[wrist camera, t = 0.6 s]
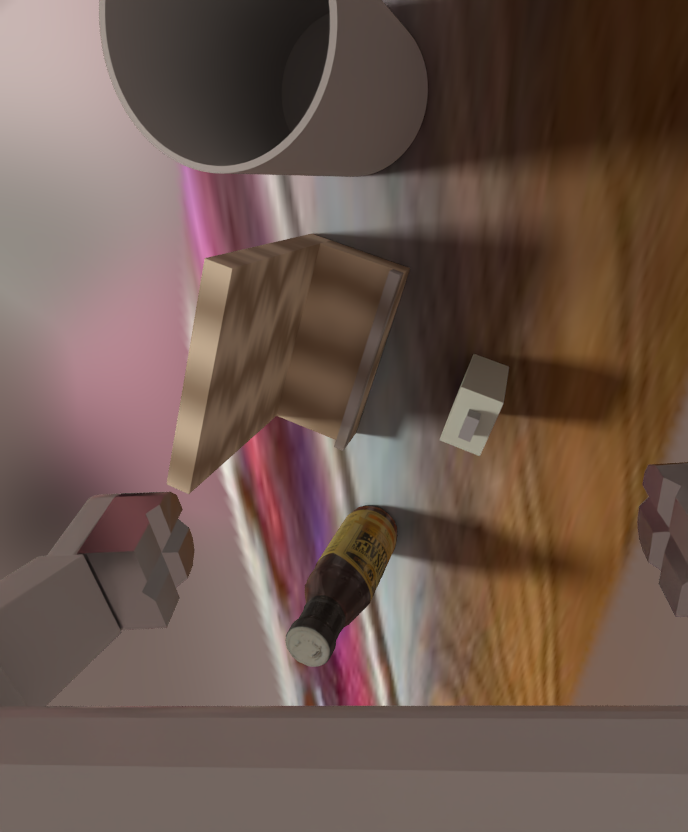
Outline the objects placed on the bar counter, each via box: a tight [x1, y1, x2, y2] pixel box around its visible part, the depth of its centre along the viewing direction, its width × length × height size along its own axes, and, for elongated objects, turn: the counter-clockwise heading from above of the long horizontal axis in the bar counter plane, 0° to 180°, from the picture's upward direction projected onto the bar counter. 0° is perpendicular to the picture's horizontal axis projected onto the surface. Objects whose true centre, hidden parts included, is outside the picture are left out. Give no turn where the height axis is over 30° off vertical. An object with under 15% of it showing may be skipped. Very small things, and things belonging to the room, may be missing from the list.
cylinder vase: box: [99, 0, 428, 177], centre depth 39 cm, size 12×12×25 cm
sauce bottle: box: [286, 506, 397, 667], centre depth 56 cm, size 7×6×20 cm
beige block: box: [440, 354, 509, 456], centre depth 50 cm, size 5×4×12 cm
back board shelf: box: [167, 234, 410, 494], centre depth 49 cm, size 18×10×20 cm, turn 163°
